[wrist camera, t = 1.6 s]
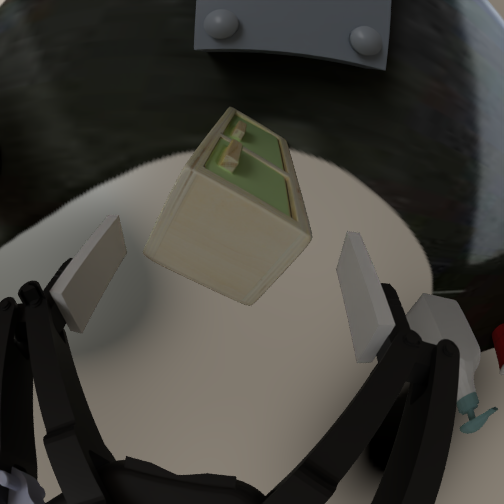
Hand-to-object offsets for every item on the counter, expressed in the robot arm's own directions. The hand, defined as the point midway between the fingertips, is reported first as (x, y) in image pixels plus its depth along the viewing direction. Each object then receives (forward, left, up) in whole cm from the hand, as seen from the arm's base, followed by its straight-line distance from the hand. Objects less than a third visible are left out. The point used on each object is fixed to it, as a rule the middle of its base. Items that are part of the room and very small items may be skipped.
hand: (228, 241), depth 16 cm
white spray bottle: (+38, -26, -21) cm, 50 cm away
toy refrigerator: (0, 0, -21) cm, 21 cm away
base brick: (+4, +20, -21) cm, 29 cm away
